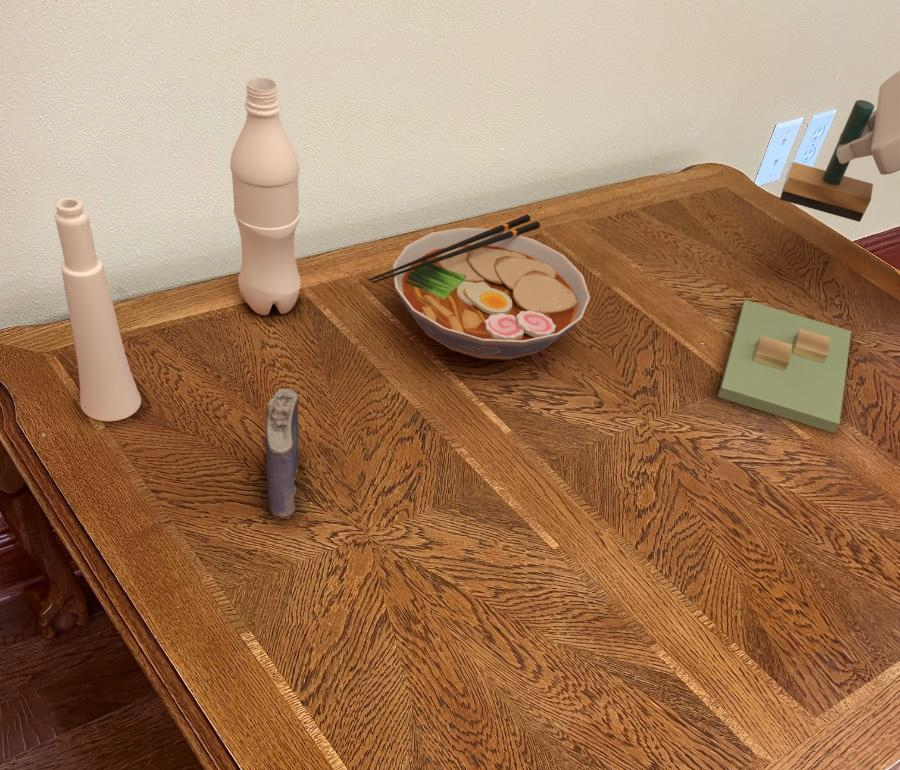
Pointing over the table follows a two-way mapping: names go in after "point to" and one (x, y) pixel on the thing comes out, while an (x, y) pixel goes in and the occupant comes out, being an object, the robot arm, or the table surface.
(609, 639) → the table surface
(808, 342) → the cracker
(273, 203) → the water bottle
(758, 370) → the green rectangular board
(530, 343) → the ramen bowl
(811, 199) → the brush
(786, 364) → the cracker
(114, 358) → the cosmetic bottle
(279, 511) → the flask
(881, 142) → the robot arm
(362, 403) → the table surface
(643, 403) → the table surface
